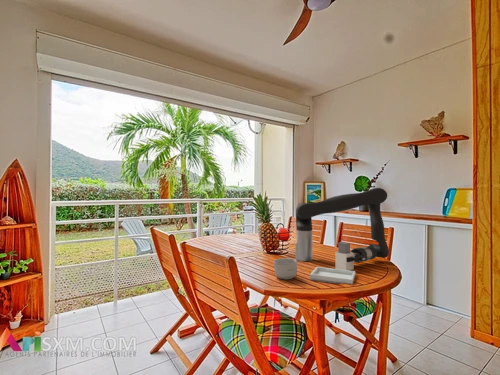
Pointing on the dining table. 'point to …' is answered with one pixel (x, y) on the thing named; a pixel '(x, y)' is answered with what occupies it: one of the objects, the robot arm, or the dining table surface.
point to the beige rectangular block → (343, 261)
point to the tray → (332, 275)
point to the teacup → (285, 268)
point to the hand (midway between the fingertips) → (341, 258)
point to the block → (344, 247)
